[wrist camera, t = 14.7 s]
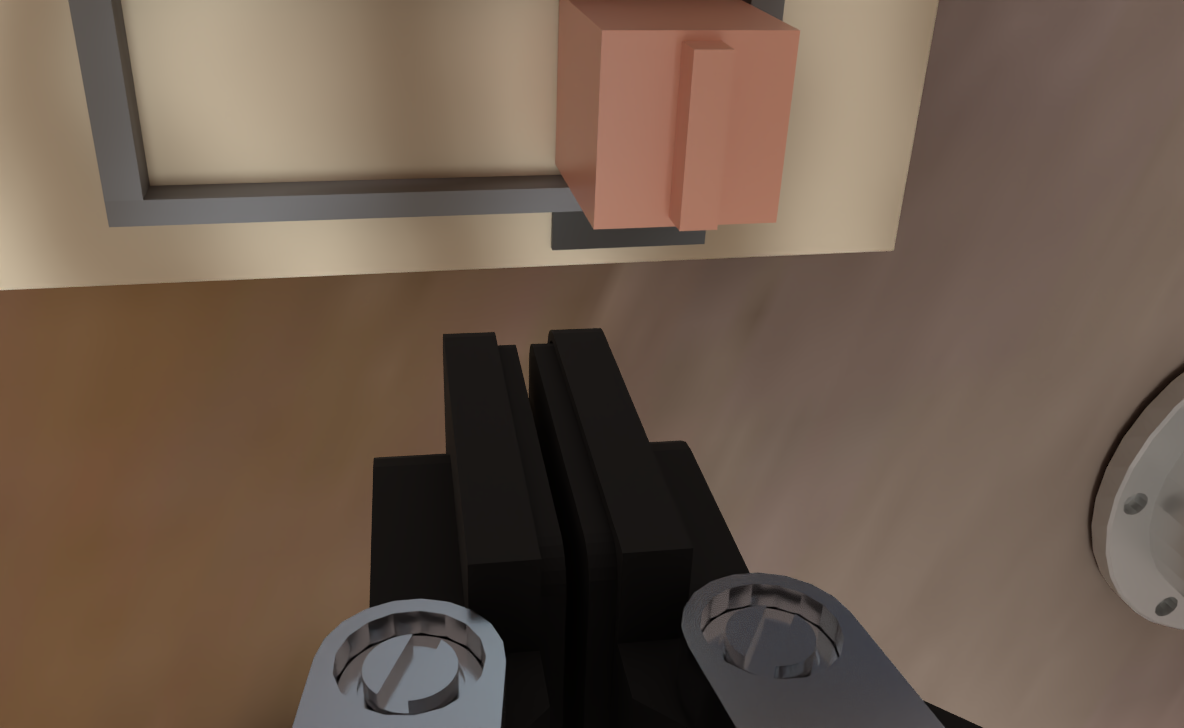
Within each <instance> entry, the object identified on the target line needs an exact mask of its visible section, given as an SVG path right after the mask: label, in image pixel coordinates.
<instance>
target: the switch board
mask: <svg viewBox="0 0 1184 728" xmlns="http://www.w3.org/2000/svg"><path fill="white" fill-rule="evenodd" d="M742 1H744V2H746V3H748V4H750V5H752V6H754V7H756V8H758V9H760V10H762V11H764V12H766V13H768V14H769V15H771V16H773V17H775V18H777V19H779V20H781V21H783V22H785V23H787V24H789V25H791V26H793V27H795V28H797V29H799V30H800V37H799V45H798V53H797V61H796V69H795V77H794V85H793V93H792V101H791V109H790V117H789V125H788V133H787V141H786V149H785V157H784V165H783V173H782V181H781V189H780V197H779V205H778V213H777V221H776V223H754V224H727V225H718V227H717V230H699V231H679V230H678V229H677V227H676V226H674V227H647V228H621V229H593V228H592V226H591V224H590V222H589V221H588V219H587V217H586V216H585V214H584V212H583V211H582V209H581V207H580V205H579V204H578V202H577V200H576V199H575V197H574V195H573V194H572V192H571V190H570V188H569V187H568V185H567V183H566V182H565V180H564V178H563V176H562V175H561V173H560V171H559V170H558V168H557V166H556V165H555V154H556V112H557V70H558V28H559V0H0V290H13V289H36V288H59V287H81V286H104V285H127V284H149V283H172V282H195V281H217V280H240V279H263V278H285V277H308V276H331V275H353V274H376V273H399V272H421V271H444V270H467V269H489V268H512V267H535V266H557V265H580V264H603V263H625V262H648V261H671V260H693V259H716V258H739V257H761V256H784V255H807V254H829V253H852V252H875V251H894V246H895V240H896V235H897V229H898V224H899V218H900V213H901V207H902V201H903V196H904V190H905V185H906V179H907V174H908V168H909V163H910V157H911V152H912V146H913V141H914V135H915V130H916V124H917V119H918V113H919V108H920V102H921V96H922V91H923V85H924V80H925V74H926V69H927V63H928V58H929V52H930V47H931V41H932V36H933V30H934V25H935V19H936V14H937V8H938V3H939V0H742Z"/></svg>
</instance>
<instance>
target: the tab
mask: <svg viewBox="0 0 1184 728" xmlns="http://www.w3.org/2000/svg"><path fill="white" fill-rule="evenodd" d="M799 37H800V30H799V29H797V28H795V27H793V26H791V25H789V24H787V23H785V22H783V21H781V20H779V19H777V18H775V17H773V16H771V15H769V14H768V13H766V12H764V11H762V10H760V9H758V8H756V7H754V6H752V5H750V4H748V3H746V2H744V1H742V0H559V28H558V70H557V112H556V154H555V165H556V166H557V168H558V170H559V171H560V173H561V175H562V176H563V178H564V180H565V182H566V183H567V185H568V187H569V188H570V190H571V192H572V194H573V195H574V197H575V199H576V200H577V202H578V204H579V205H580V207H581V209H582V211H583V212H584V214H585V216H586V217H587V219H588V221H589V222H590V224H591V226H592V228H593V229H621V228H647V227H674V226H676V227H677V229H678V230H679V231H699V230H717V227H718V225H727V224H754V223H776V221H777V213H778V205H779V197H780V189H781V181H782V173H783V165H784V157H785V149H786V141H787V133H788V125H789V117H790V109H791V101H792V93H793V85H794V77H795V69H796V61H797V53H798V45H799Z"/></svg>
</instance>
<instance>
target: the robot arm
mask: <svg viewBox="0 0 1184 728" xmlns="http://www.w3.org/2000/svg"><path fill="white" fill-rule="evenodd" d="M443 366H444V399H445V433H446V454H432V455H414V456H397V457H379V458H374V464H373V498H372V536H371V574H370V608H368V609H365V610H363V611H362V612H360V613H358V614H356V615H354V616H352V617H350V618H349V619H347V620H345V621H343V622H342V623H341V624H340V625H339V626H338V627H336V628H335V629H334V630H333V631H332V632H331V633H330V634H329V635H328V636H327V637H326V638H325V639H324V640H323V642H322V644H321V646H320V648H319V650H318V651H317V653H316V655H315V657H314V659H313V662H312V665H311V669H310V672H309V675H308V678H307V682H306V685H305V688H304V691H303V694H302V698H301V701H300V704H299V707H298V711H297V714H296V717H295V720H294V723H293V727H292V728H982V727H980V726H978V725H976V724H974V723H971V722H969V721H967V720H965V719H963V718H961V717H958V716H956V715H954V714H952V713H950V712H947V711H945V710H943V709H941V708H939V707H936V706H934V705H932V704H930V703H928V702H926V701H923V700H922V699H921V698H920V696H919V695H918V694H917V693H916V691H915V690H914V689H913V688H912V687H911V685H910V684H909V683H908V682H907V680H906V679H905V678H904V677H903V676H902V674H901V673H900V672H899V671H898V669H897V668H896V667H895V666H894V665H893V663H892V662H891V661H890V660H889V658H888V657H887V656H886V655H885V654H884V652H883V651H882V650H881V649H880V647H879V646H878V645H877V644H876V643H875V641H874V640H873V639H872V638H871V636H870V635H869V634H868V633H867V631H866V630H865V629H864V628H863V627H862V625H861V624H860V623H859V622H858V620H857V619H856V618H855V617H854V616H853V614H852V613H851V612H850V611H849V610H848V609H847V608H845V607H844V606H843V605H842V604H841V603H840V602H839V601H838V600H837V599H836V598H835V597H833V596H832V595H830V594H828V593H826V592H824V591H823V590H821V589H819V588H817V587H815V586H814V585H812V584H809V583H806V582H803V581H800V580H797V579H794V578H790V577H787V576H782V575H774V574H766V573H749V571H748V568H747V566H746V564H745V562H744V560H743V558H742V556H741V554H740V552H739V550H738V548H737V545H736V543H735V541H734V539H733V537H732V535H731V533H730V531H729V529H728V527H727V525H726V522H725V520H724V518H723V516H722V514H721V512H720V510H719V508H718V506H717V504H716V501H715V499H714V497H713V495H712V493H711V491H710V489H709V487H708V485H707V483H706V481H705V478H704V476H703V474H702V472H701V470H700V468H699V466H698V464H697V462H696V460H695V458H694V455H693V453H692V451H691V449H690V448H689V446H688V445H687V443H686V442H684V441H665V442H649V440H648V438H647V436H646V433H645V431H644V428H643V426H642V424H641V421H640V419H639V416H638V414H637V412H636V409H635V407H634V404H633V402H632V400H631V397H630V395H629V392H628V390H627V388H626V385H625V383H624V380H623V378H622V376H621V373H620V371H619V368H618V366H617V364H616V361H615V359H614V356H613V354H612V352H611V349H610V347H609V344H608V342H607V340H606V337H605V335H604V332H603V331H602V329H601V328H593V329H567V330H550V332H549V335H548V344H531V346H530V353H529V398H528V394H527V390H526V386H525V382H524V377H523V373H522V369H521V365H520V361H519V357H518V352H517V348H516V345H499V346H498V345H497V340H496V335H495V332H488V333H461V334H443ZM1091 528H1092V543H1093V553H1094V556H1095V558H1096V561H1097V564H1098V567H1099V570H1100V573H1101V574H1102V576H1103V577H1104V579H1105V580H1106V581H1107V583H1108V584H1109V586H1110V587H1111V588H1112V590H1113V591H1114V592H1115V593H1116V594H1117V595H1118V596H1119V597H1120V598H1121V599H1122V600H1123V601H1124V602H1125V603H1126V604H1127V605H1128V606H1129V607H1131V608H1132V609H1133V611H1134V612H1136V613H1137V614H1139V615H1140V616H1142V617H1144V618H1145V619H1147V620H1149V621H1151V622H1153V623H1156V624H1160V625H1163V626H1167V627H1171V628H1175V629H1183V630H1184V372H1183V373H1182V374H1180V375H1179V376H1178V377H1177V378H1175V379H1174V380H1173V381H1172V382H1171V383H1170V384H1169V385H1168V386H1167V387H1166V388H1165V389H1164V390H1163V391H1162V392H1161V393H1160V394H1159V395H1158V396H1157V397H1156V398H1155V399H1154V400H1153V401H1152V402H1151V403H1150V404H1149V405H1148V406H1147V407H1146V408H1145V409H1144V411H1143V412H1142V413H1141V415H1140V416H1139V417H1138V419H1137V420H1136V421H1135V423H1134V424H1133V425H1132V427H1131V428H1130V429H1129V431H1128V432H1127V433H1126V435H1125V436H1124V437H1123V439H1122V441H1121V443H1120V444H1119V446H1118V448H1117V450H1116V452H1115V454H1114V455H1113V457H1112V459H1111V461H1110V463H1109V464H1108V466H1107V468H1106V471H1105V474H1104V477H1103V479H1102V482H1101V485H1100V488H1099V491H1098V493H1097V496H1096V500H1095V506H1094V513H1093V519H1092V525H1091Z"/></svg>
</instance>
